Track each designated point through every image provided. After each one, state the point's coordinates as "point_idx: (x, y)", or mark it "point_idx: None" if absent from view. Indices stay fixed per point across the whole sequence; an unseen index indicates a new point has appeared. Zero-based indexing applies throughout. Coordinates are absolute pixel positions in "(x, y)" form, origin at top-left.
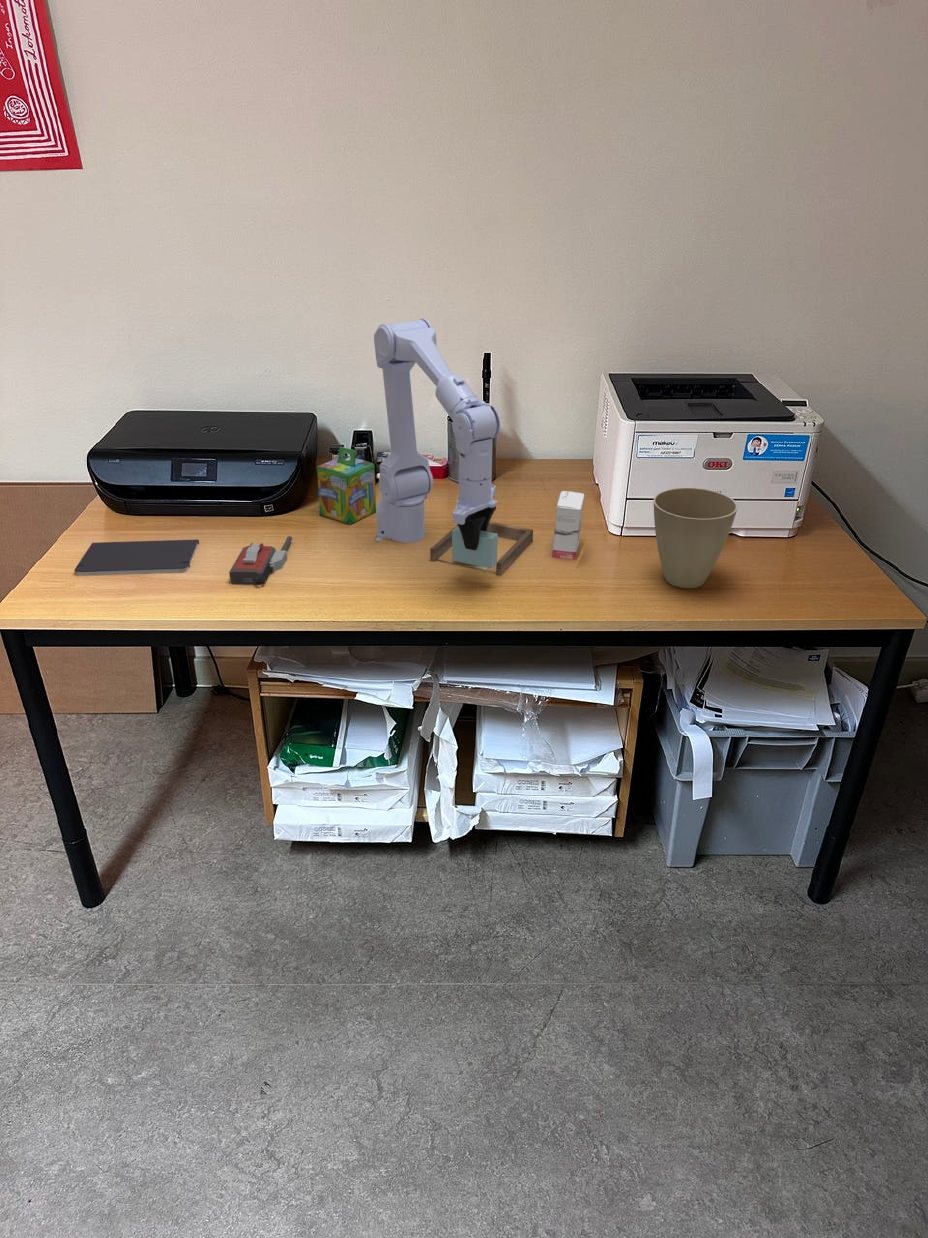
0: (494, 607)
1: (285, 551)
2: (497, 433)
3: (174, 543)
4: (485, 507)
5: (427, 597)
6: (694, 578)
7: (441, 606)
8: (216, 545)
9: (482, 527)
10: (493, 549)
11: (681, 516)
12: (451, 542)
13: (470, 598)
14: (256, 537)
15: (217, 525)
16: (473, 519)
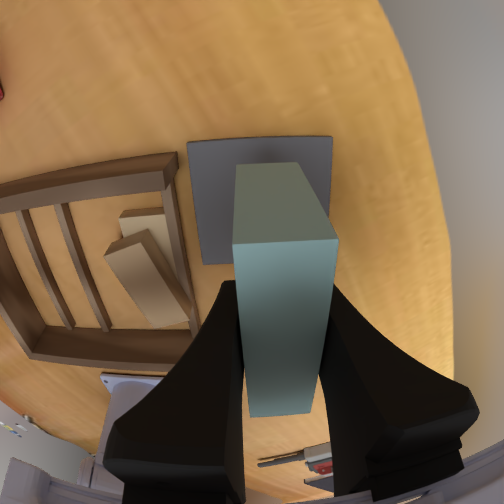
0: (353, 95)
1: (308, 458)
2: None
3: (319, 484)
4: None
5: (362, 276)
6: None
7: (395, 229)
8: (300, 475)
9: (234, 354)
10: (297, 198)
11: None
12: (114, 345)
13: (331, 181)
14: (266, 471)
15: (260, 485)
16: (453, 437)
